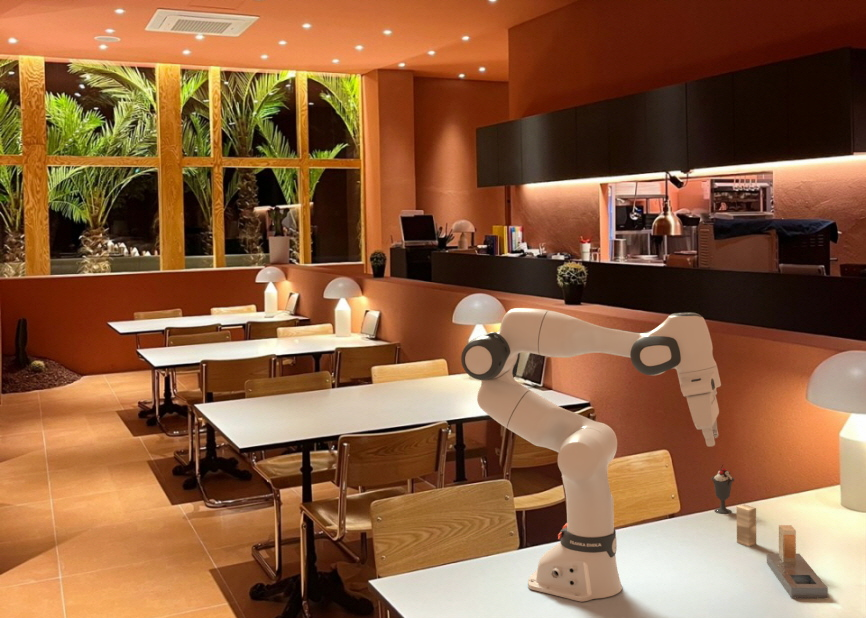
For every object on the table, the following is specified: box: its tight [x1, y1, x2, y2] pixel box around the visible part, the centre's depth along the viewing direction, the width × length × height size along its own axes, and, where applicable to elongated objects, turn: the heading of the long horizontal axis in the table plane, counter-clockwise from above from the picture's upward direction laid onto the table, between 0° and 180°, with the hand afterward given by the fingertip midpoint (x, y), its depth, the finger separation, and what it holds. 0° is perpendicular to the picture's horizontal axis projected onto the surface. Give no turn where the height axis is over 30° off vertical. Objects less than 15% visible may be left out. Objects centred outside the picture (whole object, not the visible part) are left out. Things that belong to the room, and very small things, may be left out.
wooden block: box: [736, 504, 757, 547], centre depth 239 cm, size 3×4×10 cm
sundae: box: [710, 463, 735, 515], centre depth 267 cm, size 7×7×15 cm
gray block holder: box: [766, 524, 829, 599], centre depth 213 cm, size 8×22×10 cm, turn 173°
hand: (713, 441), depth 200 cm, fingers open, 8 cm apart
